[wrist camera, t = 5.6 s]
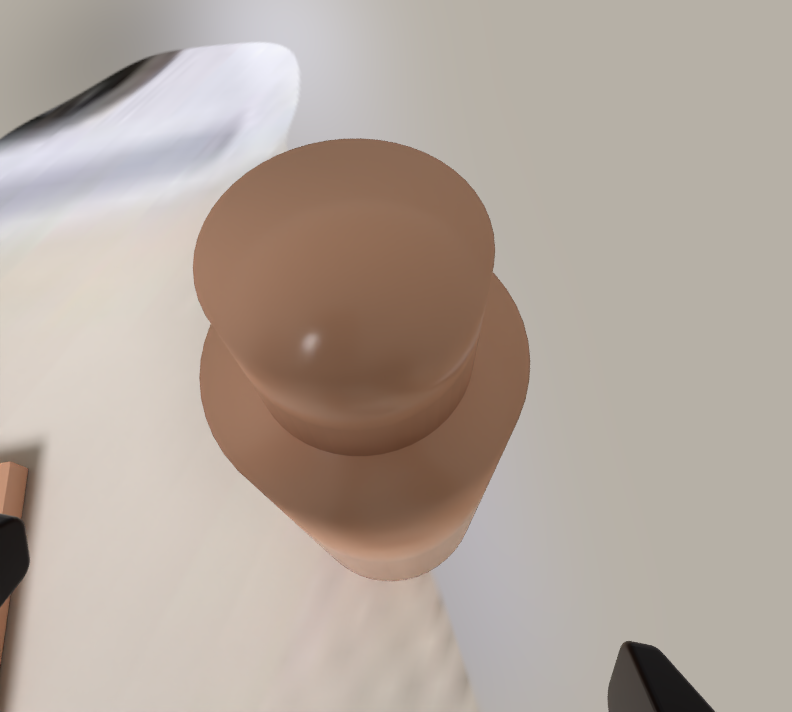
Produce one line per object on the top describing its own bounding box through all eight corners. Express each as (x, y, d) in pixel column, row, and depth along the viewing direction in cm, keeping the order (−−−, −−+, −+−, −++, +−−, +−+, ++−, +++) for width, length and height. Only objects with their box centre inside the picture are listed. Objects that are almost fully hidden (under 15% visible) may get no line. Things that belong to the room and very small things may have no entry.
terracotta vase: (492, 562, 18) (647, 409, 6) (318, 596, 18) (96, 510, 6) (453, 403, 21) (502, 70, 9) (302, 430, 21) (128, 126, 8)
